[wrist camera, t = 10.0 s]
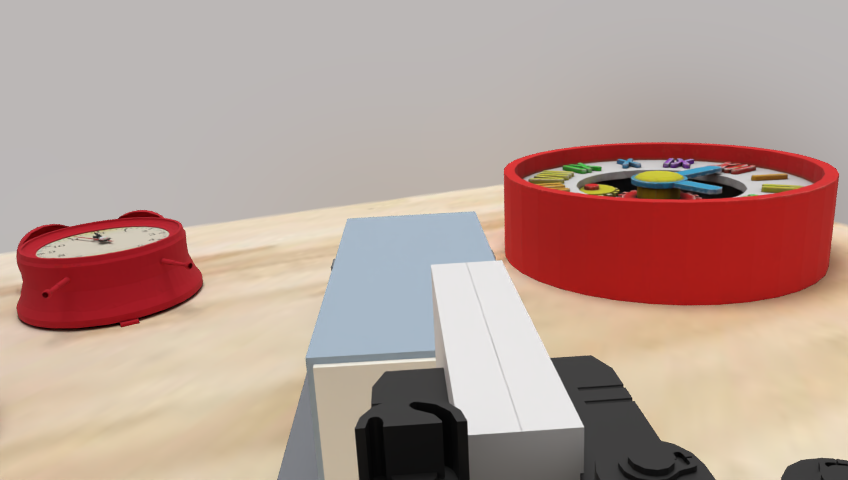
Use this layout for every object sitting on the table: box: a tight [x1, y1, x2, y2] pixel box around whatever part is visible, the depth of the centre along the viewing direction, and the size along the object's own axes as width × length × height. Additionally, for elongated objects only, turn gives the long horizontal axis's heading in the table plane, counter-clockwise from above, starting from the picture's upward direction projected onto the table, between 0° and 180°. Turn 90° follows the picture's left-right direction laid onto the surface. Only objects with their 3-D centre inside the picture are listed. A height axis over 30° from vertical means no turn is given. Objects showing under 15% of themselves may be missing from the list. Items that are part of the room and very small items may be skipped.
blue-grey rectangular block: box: [306, 212, 496, 480], centre depth 26 cm, size 6×6×15 cm
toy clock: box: [504, 142, 839, 305], centre depth 46 cm, size 20×6×20 cm
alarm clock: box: [17, 210, 203, 328], centre depth 43 cm, size 10×6×15 cm
